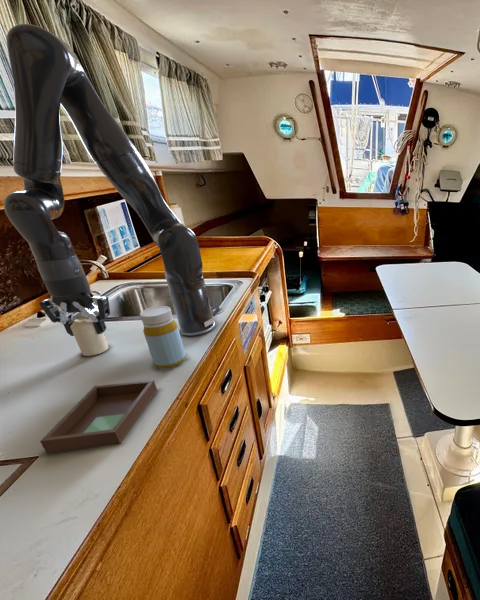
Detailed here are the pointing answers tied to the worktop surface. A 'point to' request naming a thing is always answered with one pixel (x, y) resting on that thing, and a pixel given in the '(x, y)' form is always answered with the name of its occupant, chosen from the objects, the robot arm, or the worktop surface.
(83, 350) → the candle
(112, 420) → the corner tile
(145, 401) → the tray
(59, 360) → the worktop surface
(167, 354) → the bottle
